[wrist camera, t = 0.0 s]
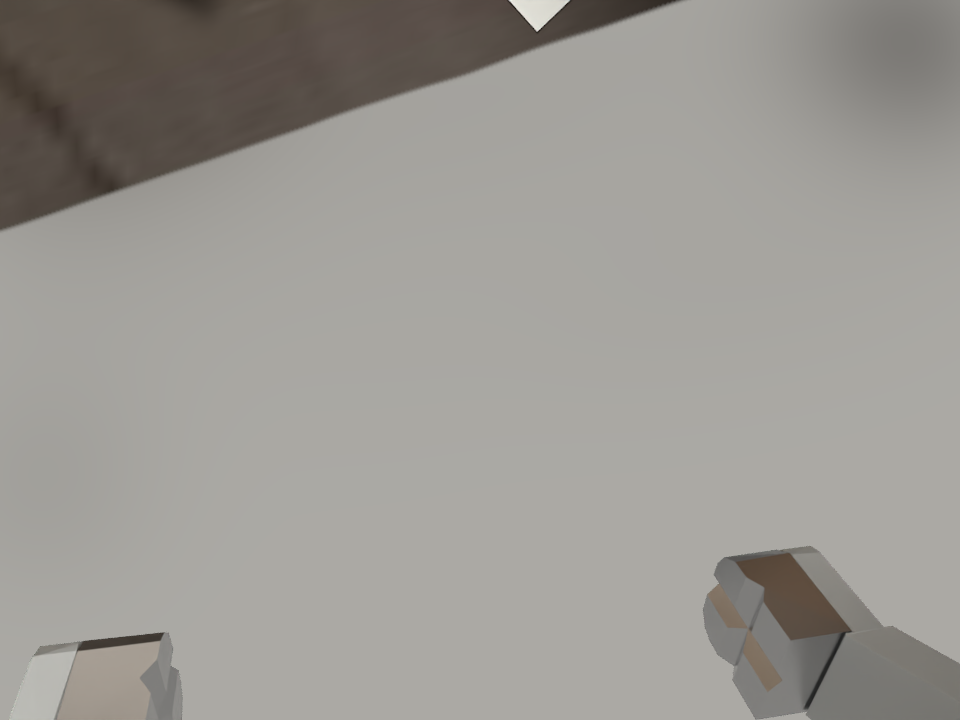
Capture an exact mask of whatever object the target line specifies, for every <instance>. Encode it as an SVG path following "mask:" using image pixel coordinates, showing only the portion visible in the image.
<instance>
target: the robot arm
mask: <svg viewBox="0 0 960 720" xmlns="http://www.w3.org/2000/svg"><path fill="white" fill-rule="evenodd" d="M714 576H715V577H716V579H717V580H718V582H719V584H718V585H717V586H716V587H715V588H714V589H712V591H710V592H709V593H708V594H707V598H706V601H705V604H704V608H703V612H704V623H705V629H706V631H707V634H708V637H709V640H710V642H711V644H712V645H713V647H714V649H715V651H716V652H717V654H718V655H719V656H720V657H722V658H723V659H725V660H726V661H728V662H729V663H731V664H732V665H733V666H734V672H733V682H734V684H735V685H736V687H737V688H738V690H739V692H740V694H741V695H742V697H743V699H744V700H745V702H746V704H747V706H748V707H749V709H750V710H751V712H752V714H753V716H754V717H755V719H763V718H769V717H776V716H782V715H788V714H795V713H801V712H807V713H806V716H808V717H809V718H810V719H811V720H960V664H959V663H958V662H956V661H954V660H952V659H950V658H949V657H947V656H945V655H943V654H941V653H940V652H938V651H936V650H934V649H933V648H931V647H929V646H927V645H925V644H924V643H922V642H920V641H918V640H916V639H914V638H913V637H911V636H909V635H907V634H906V633H904V632H902V631H900V630H898V629H897V628H895V627H893V626H888V627H883V626H882V625H881V623H880V622H879V621H878V620H877V618H876V617H875V616H874V615H873V614H872V613H871V612H870V610H869V609H868V608H867V607H866V606H865V604H864V603H863V602H862V601H861V600H860V599H859V597H858V596H857V595H856V594H855V593H854V592H853V590H852V589H851V588H850V587H849V586H848V585H847V583H846V582H845V581H844V580H843V579H842V577H841V576H840V575H839V574H838V573H837V571H836V570H835V569H834V568H833V567H832V566H831V564H830V563H829V562H828V561H827V560H826V559H825V557H824V556H823V555H822V554H821V553H820V552H819V551H818V550H816V549H815V548H813V547H811V546H806V547H799V548H792V549H783V550H771V551H765V552H758V553H752V554H745V555H738V556H731V557H725V558H723V559H722V560H721V561H720V562H719V563H718V564H717V567H716V570H715V573H714ZM172 653H173V646H172V643H171V639H170V636H169V633H165V632H164V633H155V634H145V635H137V636H126V637H118V638H108V639H98V640H89V641H82V642H74V643H66V644H58V645H48V646H40V648H39V649H38V650H37V652H36V653H35V654H34V656H33V657H32V658H31V660H30V663H29V666H28V669H27V671H26V674H25V676H24V679H23V682H22V684H21V687H20V690H19V693H18V695H17V698H16V701H15V704H14V706H13V709H12V712H11V715H10V717H9V720H182V689H181V680H180V676H179V671H178V670H177V669H175V668H174V667H172V666H170V665H171V659H172Z"/></svg>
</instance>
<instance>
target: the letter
mask: <svg viewBox="0 0 960 720" xmlns="http://www.w3.org/2000/svg"><path fill="white" fill-rule="evenodd" d="M509 1H510V2H511V3H512V4H513V5H514V6H515V7H516V9H517V10H518V11H519V12H520V13H521V14H522V15H523V16H524V18H525V19H526V20H527V21H528V22H529V23H530V24H531V25H532V26H533V28H534V29H535V30H536V31H538V30H540V29H541V28H542V27H543V26H544V25H545V24H546V23H547V22H548V21H549V20H550V19H551V18H552V17H553V16H554V15H555V14H556V13H557V12H558V11H559V10H560V9H561V8H562V7H563V6H565V5H566V4H567V3H568V2H569V1H570V0H509Z"/></svg>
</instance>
